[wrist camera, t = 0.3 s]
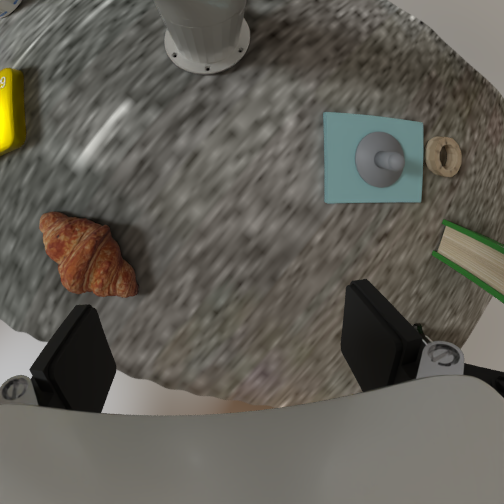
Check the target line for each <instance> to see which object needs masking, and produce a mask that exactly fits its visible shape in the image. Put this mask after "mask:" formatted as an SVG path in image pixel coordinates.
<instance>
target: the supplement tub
mask: <svg viewBox="0 0 504 504" xmlns="http://www.w3.org/2000/svg"><path fill="white" fill-rule="evenodd" d="M21 1H22V0H0V18H3V17H5V16H7V15H9V14H10V13H11V12H13V11H14V10H15V9H16V8H17V7H18V5H19V4H20V3H21Z"/></svg>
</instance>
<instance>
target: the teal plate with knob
mask: <svg viewBox="0 0 504 504" xmlns="http://www.w3.org/2000/svg"><path fill="white" fill-rule="evenodd" d="M323 118H324V158H325V202H326V203H368V202H421V196H422V178H423V123H421V122H415V121H409V120H402V119H395V118H387V117H379V116H370V115H359V114H348V113H333V112H325V113H323Z"/></svg>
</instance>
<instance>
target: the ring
mask: <svg viewBox="0 0 504 504" xmlns="http://www.w3.org/2000/svg"><path fill="white" fill-rule="evenodd" d="M443 146H444V147H445V149H446V152H447V161H446V163H445V165H444V166H443V167H442V165H441V162H440V151H441V148H442V147H443ZM461 156H462V154H461V151H460V148H459V145H458V144H457V143H456V142H455V141H454V140H453V139H452V138H448V137H434V138H432V139H430V140H429V141H428V143H427V145H426V147H425V162H426V164H427V167H428V169H429V170H430V171H431V172H433V173H434V174H436V175H440V176H446V177H452V176H453V175H455V174H456V173H458V170H459V168H460V166H461Z"/></svg>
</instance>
